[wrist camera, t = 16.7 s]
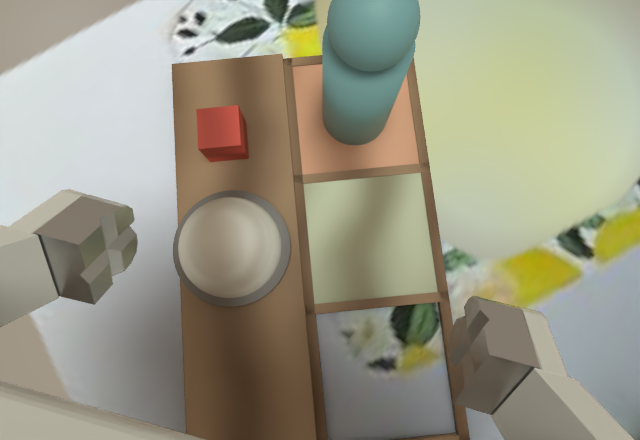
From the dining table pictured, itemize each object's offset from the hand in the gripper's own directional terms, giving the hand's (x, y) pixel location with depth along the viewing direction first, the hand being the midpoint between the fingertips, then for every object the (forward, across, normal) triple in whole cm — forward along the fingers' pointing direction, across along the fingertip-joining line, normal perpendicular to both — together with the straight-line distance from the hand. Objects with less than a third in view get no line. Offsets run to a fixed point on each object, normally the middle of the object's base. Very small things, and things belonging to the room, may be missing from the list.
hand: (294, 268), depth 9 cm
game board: (+13, +1, +10) cm, 17 cm away
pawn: (+19, 0, +3) cm, 19 cm away
